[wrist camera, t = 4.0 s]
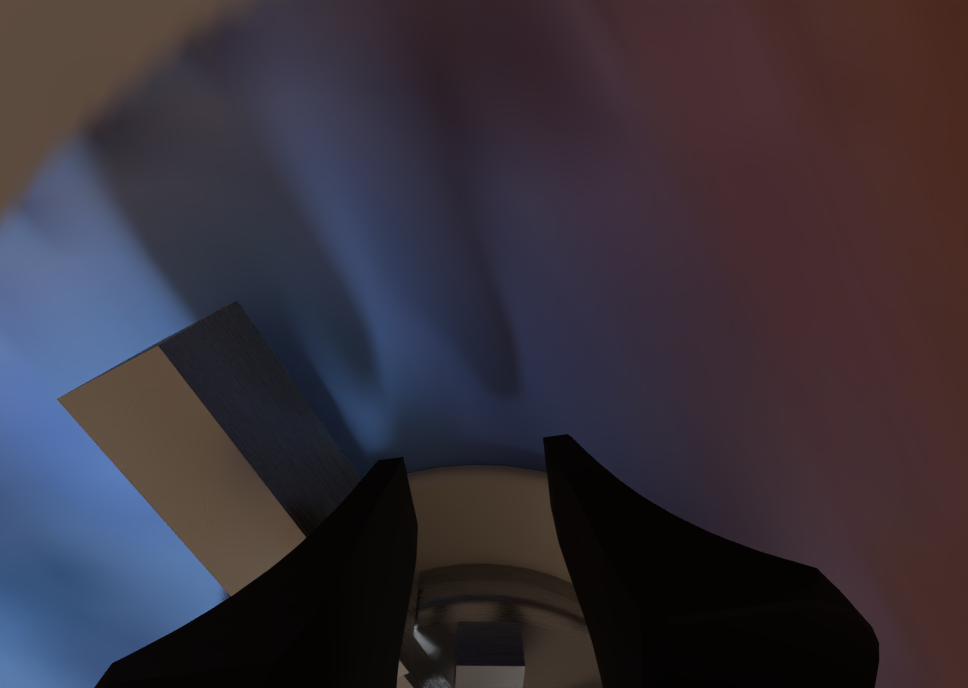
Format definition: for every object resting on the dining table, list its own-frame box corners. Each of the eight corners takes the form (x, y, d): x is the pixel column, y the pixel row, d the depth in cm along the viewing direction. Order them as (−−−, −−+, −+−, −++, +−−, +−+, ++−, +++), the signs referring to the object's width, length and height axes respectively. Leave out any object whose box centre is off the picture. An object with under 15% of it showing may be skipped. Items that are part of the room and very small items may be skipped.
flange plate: (698, 777, 20) (711, 810, 19) (308, 830, 20) (300, 865, 19) (700, 429, 15) (718, 449, 14) (173, 504, 15) (151, 530, 14)
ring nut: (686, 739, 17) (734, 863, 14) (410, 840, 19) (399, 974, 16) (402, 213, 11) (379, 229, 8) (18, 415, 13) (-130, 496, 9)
